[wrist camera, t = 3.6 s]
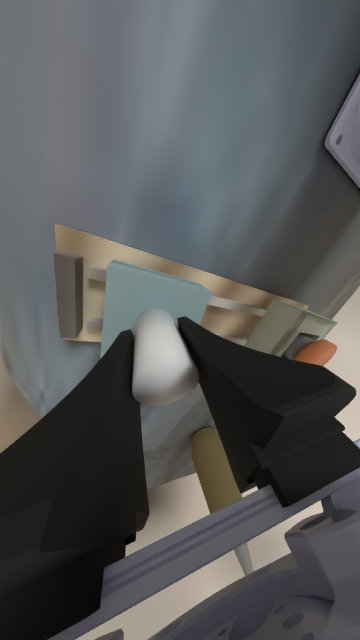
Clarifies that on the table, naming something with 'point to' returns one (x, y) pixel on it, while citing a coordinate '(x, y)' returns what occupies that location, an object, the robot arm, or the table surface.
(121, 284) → the carriage
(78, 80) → the table surface
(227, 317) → the rail track
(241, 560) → the squeeze bottle
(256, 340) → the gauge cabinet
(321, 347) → the button
